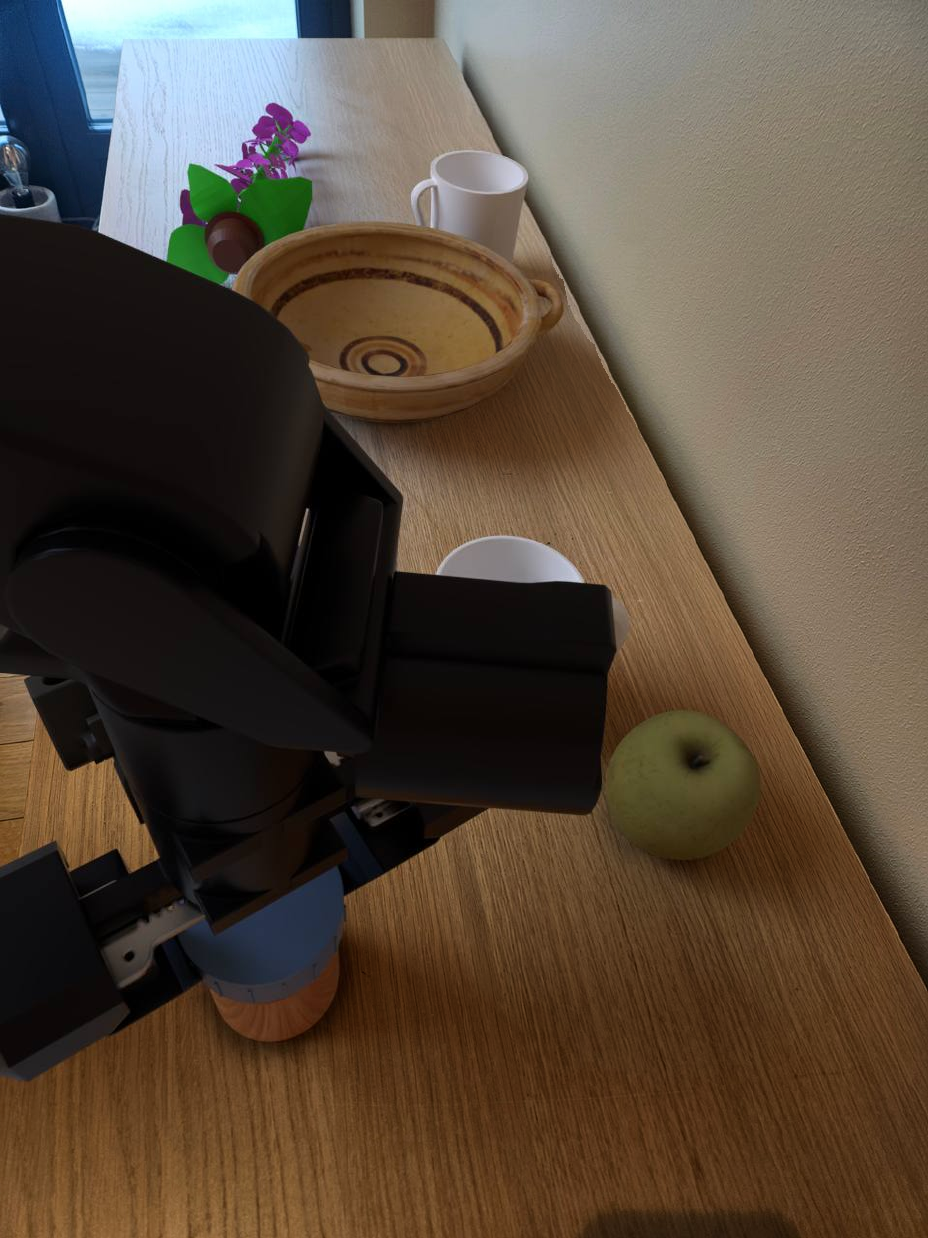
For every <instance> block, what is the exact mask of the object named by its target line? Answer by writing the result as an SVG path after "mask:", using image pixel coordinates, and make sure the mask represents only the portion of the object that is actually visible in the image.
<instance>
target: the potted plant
mask: <svg viewBox="0 0 928 1238" xmlns="http://www.w3.org/2000/svg"><path fill="white" fill-rule="evenodd" d="M265 113H266V114H267V115H261V116H260V117H259V118H258V120H257V123H256V124H254V125H253V127H252V129H251V132H252V134H253V135H254V136H255V137H256V138H254V139H249V140H245V141H242V143H241V152H242V159H240V160H238V161H237V163H235V164H233V165H225V164H218V163H217V164H216V163H215V164H214V163H213V166H216V167H217V168H219V169H221V170H222V171H224V172H226V173H229V174H230V175H232V176H235V178H232V179H231V180H230V181H229V180H228V179H226V178H225V177H223V176H222V175H219V174H218V173H215V172H213V171H211V170H210V169H207V168H206V167H204V166H203V165H200V164H196V163H189V164H188V167H187V170H186V171H187V172H186V173H187V180H188V187H189V188H188V189H186V188H183V189H182V190H181V191H180V195H179V209H180V211H181V214H182V217H181V218H182V220H181V225H180V226H178V227H176V228H175V229H173V231H172V232H171V233H170V235H169V240H168V245H167V253H166V254H167V255H166V260H165V261H166V262H169V263H171V264H173V265H176V266H178V267H180V268H183V269H185V270H187V271H190V272H192V273H194V274H197V275H199V276H201V277H204V278H206V279H208V280H211V281H213V282H215V283H217V284H220V285H222V284H224V283H225V282H226V281H228V278H229V277H230V275H234V276H237V274H238V273H239V271H240V269H241V268H242V266H243V265H244V264H245V263H246V262H247V261H248V260H249V259H250V258H251V257H252V256H253V255H254V254H255V253H256V252H258V251H260V250H261V249H263V248H264V247H266V246H267V245H269V244H270V243H272V242H274V241H276V240H279V239H281V238H283V237H285V236H287V235H290V234H293V233H296V232H300V231H303V230H305V226H306V223H307V219H308V216H309V212H310V210H311V206H312V201H313V180H310V179H308V178H306V177H303V176H294V177H288V173H287V166H286V163H285V162H286V161H288V167H290V166H293V169H294V172H295V173H297V168H296V164H295V159H296V158H297V157H298V155H299V151H300V150H299V147H298V144H299V145H303V144H304V143H305V142H306V141H307V139H308V138H309V137H311V136H312V133H311V131H310V129H309V127H308V126H307V125H306V124H305V123H304V122H302V120H298V119H295V120H294V116H293V114H292V113H291V111H289V110H288V109H287V108H285V107H284V106H282V105H280V104H279V103H276V102H270V103H268V104H267V105H266V106H265ZM273 135H274V136H273ZM292 140H293V141H292ZM248 143H250V145H249V146H248V145H247V144H248ZM257 146H259V148H260V149H261V151H262V153H259V152H257V149H256V147H257ZM264 146H266V147H267V150H265V148H264ZM282 157H285V158H282ZM252 168H255V169H256V172H254V170H252ZM277 169H278V170H279V171H280V173H279V171H278V170H277Z"/></svg>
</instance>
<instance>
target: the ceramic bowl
mask: <svg viewBox="0 0 928 1238" xmlns="http://www.w3.org/2000/svg"><path fill="white" fill-rule="evenodd" d="M231 290H233V291H235V292H237V293H239V294H241V295H243V296H245V297H247V298H249V299H251V300H253V301H254V302H256V303H257V304H259V305H261V306H262V307H263V308H264V309H266V310H267V311H268V312H269V313H271V314H272V315H273V316H274V317H275V318H277V319H278V320H279V321H280V322H281V323H283V324H284V325H285V326H286V327H288V328H289V329H290V331H291V332H292V333H293V334H294V336H295V337H296V338H297V339H298V341H299V342H300V343H301V344H302V346H303V347H304V348H305V349H306V351H307V352H308V354H309V357H310V360H309V367H310V369H311V370H312V373H313V375H314V378H315V381H316V384H317V387H318V390H319V393H320V396H321V399H322V402H323V404H324V405H325V406H326V407H327V409H328V410H329V411H330V412H331V413H332V414H336V415H339V416H342V417H346V418H350V419H355V420H361V421H369V422H374V423H392V424H403V423H417V422H419V423H420V422H426V421H431V420H438V419H442V418H446V417H449V416H453V415H456V414H458V413H462V412H464V411H466V410H468V409H470V408H472V407H474V406H477V405H478V404H480V403H482V402H484V401H486V400H487V399H489V398H490V397H492V396H493V395H494V394H496V393H498V391H500V390H501V389H503V388H504V387H505V385H507V384H508V382H509V381H510V380H511V379H512V378H513V376H515V374H517V372H518V370H519V369H520V368H521V366H522V364H523V362H524V360H525V358H526V357H527V355H528V353H529V351H530V349H531V347H532V346H533V345H534V343H535V341H536V340H538V339H539V338H542V337H543V336H545V335H546V334H547V333H548V332H550V331H552V329H553V328H555V327H556V325H558V323H559V322H560V320H561V319H562V317H563V315H564V309H565V307H564V301H563V297H562V294H561V292H560V291H559V290H558V289H557V288H556V287H554V286H553V285H552V284H551V283H549V282H547V281H545V280H541V279H529V278H528V277H527V275H525V273H524V272H523V271H522V270H521V269H520V268H519V267H518V266H516V265H515V264H514V263H513V262H512V263H511V262H510V261H509V260H508V259H506V258H505V257H503V256H501V255H500V254H498V253H496V252H495V251H493V250H492V249H490V248H488V247H486V246H483V245H481V244H479V243H477V242H475V241H473V240H470V239H467V238H464V237H462V236H459V235H456V234H453V233H450V232H446V231H442V230H438V229H434V228H430V226H427V227H425V226H418V225H417V224H412V223H411V224H410V223H405V222H393V221H377V220H376V221H375V220H374V221H349V222H338V223H330V224H324V225H319V226H315V227H310V228H306V229H304V230H303V231H300V232H296V233H293V234H290V235H287V236H285V237H283V238H281V239H279V240H276V241H274V242H272V243H270V244H269V245H267V246H266V247H264V248H263V249H261V250H260V251H258V252H256V253H255V254H254V255H253V256H252V257H251V258H250V259H249V260H248V261H247V262H246V263H245V264H244V265H243V266H242V268H241V269H240V271H239V273H238V274H237V275H235V277H234V279H233V283H232V287H231ZM540 297H542V298H545V299H547V300H548V301H549V302H550V304H551V306H550V309H549V310H548V312H547V313H545V314H544V313H543V312H544V311H543V307H542V302H541V299H540Z"/></svg>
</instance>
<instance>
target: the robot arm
mask: <svg viewBox="0 0 928 1238" xmlns="http://www.w3.org/2000/svg"><path fill="white" fill-rule="evenodd" d="M166 261H167V260H165V259H162V258H159V257H157V256H154V255H153V254H151V253H148V252H145V251H143V250H141V249H139V248H137V247H134V246H133V245H129V244H128V243H126V242H125V243H124V242H122V241H120V240H118V239H115V238H113V237H110V236H108V235H106V234H104V233H101V232H99V231H97V230H94V229H93V228H89V227H88V226H83V225H78V224H73V223H66V222H59V221H58V222H57V221H53V220H52V221H51V220H46V219H45V220H44V219H38V218H31V217H24V216H19V215H18V216H17V215H11V214H4V213H0V674H5V675H17V676H27V677H25V678H24V679H23V683H24V684H25V688H26V689H27V693H28V694H29V696H30V699H31V701H32V703H33V705H34V707H35V709H36V712H37V713H38V715H39V717H40V719H41V722H42V724H43V726H44V728H45V730H46V732H47V734H48V736H49V738H50V741H51V743H52V745H53V747H54V749H55V751H56V753H57V755H58V757H59V759H60V761H61V763H62V765H63V767H64V769H65V771H68V772H73V771H76V770H77V769H81V768H82V767H84V766H86V765H88V764H91V763H93V762H94V764H95V765H96V766H97V765H99V764H101V763H104V762H105V761H108V760H109V759H113V767H114V770H115V772H116V775H117V777H118V779H119V782H120V784H121V786H122V788H123V791H124V793H125V796H126V797H127V800H128V802H129V804H130V807H131V808H132V810H133V812H134V814H135V816H136V818H137V821H138V822H139V824H140V825H144V824H145V827H146V829H147V832H148V835H149V836H150V839H151V841H152V844H153V846H154V848H155V851H156V853H157V856H158V858H156V859H155V860H153V861H151V862H149V863H147V864H146V865H143V866H141V867H140V868H137V869H135V870H134V871H132V870H131V868H130V866H129V865H128V864H127V861H126V860H125V859H124V857H123V856H122V853H121V852H120V851H119V849H118V848H113V849H111V850H109V851H107V852H106V853H104V854H102V855H100V856H98V857H96V858H94V859H92V860H90V861H88V862H86V863H84V864H82V865H80V866H78V867H75V868H74V869H72V870H70V867H71V866H70V864H69V861H68V860H67V857H66V854H65V852H64V851H63V849H62V847H61V846H60V844H59V843H58V841H57V840H56V839H55V840H53V841H51V842H49V843H47V844H45V845H42V846H41V847H39V848H37V849H35V850H32V851H31V852H28V853H26V854H24V855H22V856H20V857H18V858H16V859H13V860H12V861H10V862H8V863H5V864H3V865H2V866H0V1076H2V1077H3V1078H8V1079H13V1080H16V1081H21V1082H25V1083H29V1082H31V1081H33V1080H34V1079H36V1078H38V1077H40V1076H41V1075H43V1074H44V1073H46V1072H48V1071H49V1070H51V1069H53V1068H55V1067H57V1066H58V1065H60V1064H61V1063H63V1062H65V1061H67V1060H68V1059H70V1058H72V1057H73V1056H75V1055H76V1054H78V1053H80V1052H82V1051H83V1050H85V1049H86V1048H89V1047H90V1046H92V1045H93V1044H95V1043H97V1042H98V1041H100V1040H102V1039H104V1038H109V1037H112V1036H115V1035H117V1034H119V1033H120V1032H122V1031H124V1030H126V1029H127V1028H129V1027H130V1026H132V1025H134V1024H135V1023H137V1022H139V1021H141V1020H142V1019H144V1018H145V1017H147V1016H149V1015H150V1014H152V1013H154V1012H155V1011H158V1010H159V1009H161V1008H162V1007H164V1006H165V1005H168V1004H169V1003H171V1002H172V1001H174V1000H175V999H177V998H179V997H181V996H183V995H184V994H186V993H187V992H188V991H190V990H191V989H193V988H194V987H195V986H197V985H198V984H201V982H202V978H201V977H200V976H199V974H198V973H197V972H196V970H195V968H194V967H193V966H192V965H191V964H190V961H189V959H188V958H187V956H186V954H185V952H184V951H183V949H182V947H181V945H180V942H179V940H178V937H177V934H178V933H180V932H182V931H184V930H185V929H187V928H189V927H191V926H192V925H194V924H196V923H198V922H200V921H201V920H203V919H206V921H207V923H208V925H209V927H210V929H211V931H212V933H213V935H214V936H216V935H218V934H219V933H221V932H223V931H224V930H226V929H228V928H230V927H231V926H233V925H235V924H237V923H238V922H240V921H242V920H244V919H245V918H247V917H249V916H251V915H252V914H254V913H256V912H258V911H259V910H261V909H263V908H264V907H266V906H268V905H270V904H271V903H273V902H275V901H277V900H278V899H280V898H282V897H284V896H285V895H287V894H289V893H291V892H292V891H294V890H296V889H297V888H299V887H301V886H303V885H304V884H306V883H308V882H310V881H311V880H313V879H315V878H317V877H318V876H320V875H322V874H324V873H325V872H327V871H329V870H330V869H332V868H334V867H336V866H337V865H338V867H339V870H340V873H341V876H342V881H343V887H344V897H347V896H348V895H350V894H351V893H353V892H355V891H357V890H358V889H360V888H362V887H364V886H366V885H367V884H369V883H371V882H373V881H375V880H377V879H379V878H380V877H383V876H384V875H385V874H387V873H389V872H391V871H392V870H394V869H395V868H398V867H399V866H401V865H402V864H404V863H406V862H407V861H409V860H411V859H412V858H414V857H416V856H417V855H419V854H421V853H423V852H424V851H426V850H428V849H429V848H431V847H433V846H434V845H436V844H437V843H438V842H439V841H440V840H441V838H442V837H445V835H447V834H448V833H450V832H452V831H453V830H455V829H457V828H459V827H461V826H462V825H464V824H465V823H467V822H469V821H471V820H472V819H474V818H476V817H477V816H479V815H481V814H482V813H485V812H487V810H489V809H496V810H509V811H520V812H533V813H534V812H536V813H545V814H557V815H558V814H559V815H571V816H588V815H590V814H591V813H592V812H593V810H594V809H595V807H596V806H597V804H598V801H599V799H600V796H601V794H602V788H603V771H602V770H603V769H602V760H601V759H602V757H601V756H602V750H603V746H604V745H603V744H604V738H605V737H604V736H605V728H606V717H607V703H608V683H609V681H608V680H609V678H608V677H609V676H608V675H609V672H610V670H611V668H612V666H613V665H612V664H613V662H614V659H615V657H616V656H615V654H616V652H617V646H616V636H615V625H614V615H613V604H612V597H613V595H612V590H611V589H610V588H609V587H608V586H607V585H606V584H601V583H589V582H585V583H580V582H569V581H548V582H535V583H521V582H508V581H498V580H487V579H476V578H465V577H455V576H444V575H436V574H432V573H423V572H422V573H421V572H412V571H411V572H410V571H400V570H398V556H399V538H400V531H401V523H402V515H403V509H404V495H403V494H402V492H401V491H400V490H399V489H398V488H397V487H396V486H395V484H394V483H393V482H392V481H391V479H389V477H387V475H386V474H385V473H384V471H383V470H381V468H380V467H379V466H378V465H377V463H376V462H375V461H374V460H373V459H372V458H371V457H370V456H369V454H368V453H367V452H366V451H365V449H363V448H362V446H361V445H360V444H359V443H358V442H357V440H355V439H354V437H353V436H352V435H351V434H350V433H349V432H348V430H347V429H346V428H345V427H344V425H342V423H341V422H340V421H339V420H338V419H337V418H336V417H335V416H334V413H332V412H330V411H329V410H328V409H327V407H326V406H325V405H324V404H323V402H322V399H321V396H320V393H319V390H318V387H317V384H316V381H315V378H314V375H313V373H312V370H311V369H310V367H309V360H310V357H309V354H308V352H307V351H306V349H305V348H304V347H303V346H302V344H301V343H300V342H299V341H298V339H297V338H296V337H295V336H294V334H293V333H292V332H291V331H290V329H289V328H288V327H286V326H285V325H284V324H283V323H281V322H280V321H279V320H278V319H277V318H275V317H274V316H273V315H272V314H271V313H269V312H268V311H267V310H266V309H264V308H263V307H262V306H261V305H259V304H257V303H256V302H254V301H253V300H251V299H249V298H247V297H245V296H243V295H241V294H239V293H237V292H235V291H233V290H232V288H229V287H226V286H225V285H222V284H217V283H215V282H213V281H211V280H208V279H206V278H204V277H201V276H199V275H197V274H194V273H192V272H190V271H187V270H185V269H183V268H180V267H178V266H176V265H173V264H171V263H169V262H166ZM306 513H307V514H306ZM305 516H306V518H305ZM304 521H305V522H304ZM303 526H304V527H303ZM302 529H303V531H302ZM301 533H302V535H301ZM300 538H301V541H300ZM299 544H300V545H299ZM298 546H299V547H300V548H299V553H298V557H297V561H296V566H295V570H294V575H293V579H292V578H291V574H292V569H293V565H294V561H295V556H296V552H297V548H298ZM616 655H617V654H616ZM183 899H184V903H183V904H180V903H179V901H181V900H183ZM170 907H171V908H172V909H169V908H170Z"/></svg>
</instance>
